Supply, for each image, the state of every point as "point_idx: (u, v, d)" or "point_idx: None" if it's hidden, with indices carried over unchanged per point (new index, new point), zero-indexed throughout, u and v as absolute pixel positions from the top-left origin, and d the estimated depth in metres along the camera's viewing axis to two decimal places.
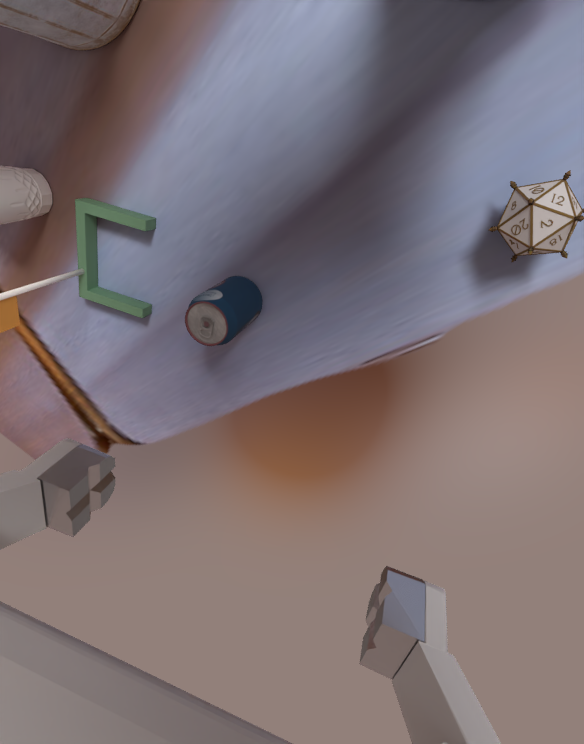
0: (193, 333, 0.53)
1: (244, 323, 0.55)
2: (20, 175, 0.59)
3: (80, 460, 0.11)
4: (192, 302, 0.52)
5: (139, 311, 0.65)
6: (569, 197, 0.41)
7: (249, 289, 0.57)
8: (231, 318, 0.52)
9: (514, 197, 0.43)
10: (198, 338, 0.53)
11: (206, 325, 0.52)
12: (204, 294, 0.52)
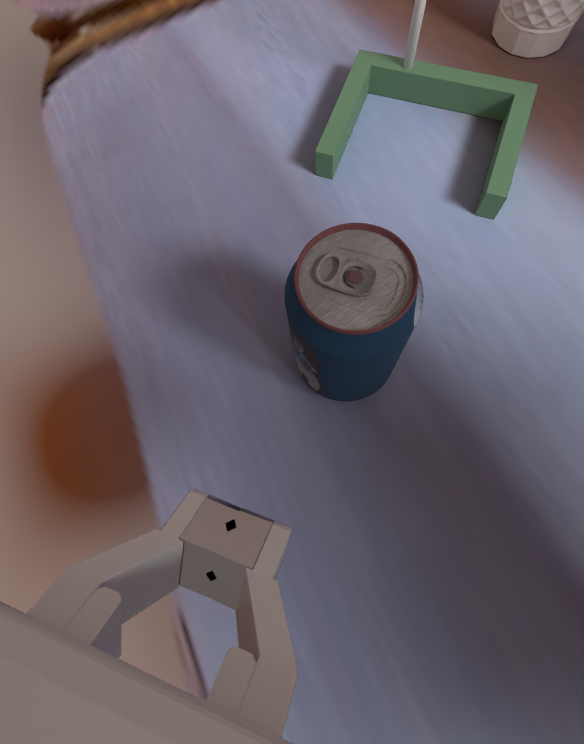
0: (328, 238, 0.20)
1: (324, 368, 0.23)
2: None
3: (215, 515, 0.11)
4: None
5: (328, 149, 0.33)
6: None
7: (379, 383, 0.26)
8: (363, 345, 0.19)
9: None
10: (313, 247, 0.20)
11: (349, 274, 0.20)
12: (421, 285, 0.21)
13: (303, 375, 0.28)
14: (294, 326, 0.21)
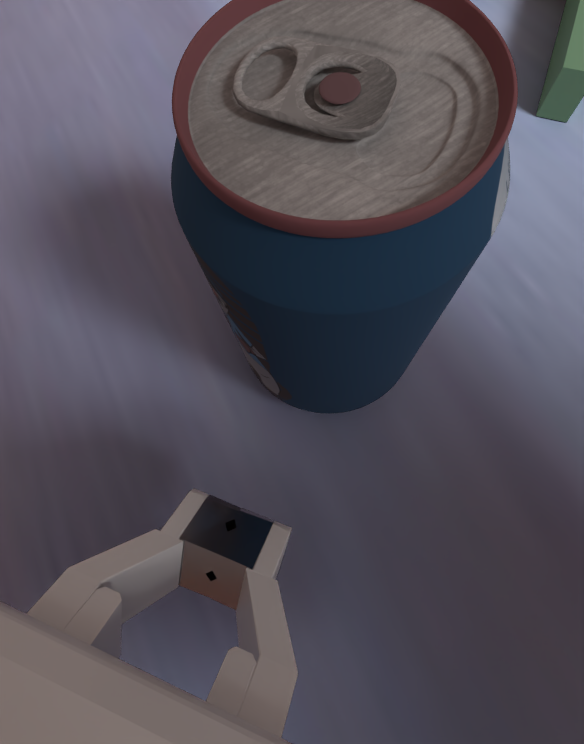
0: (270, 8, 0.08)
1: (274, 348, 0.10)
2: None
3: (215, 515, 0.11)
4: None
5: None
6: None
7: (389, 381, 0.14)
8: (362, 276, 0.07)
9: None
10: (231, 31, 0.08)
11: (324, 88, 0.07)
12: None
13: (252, 367, 0.15)
14: (188, 238, 0.08)
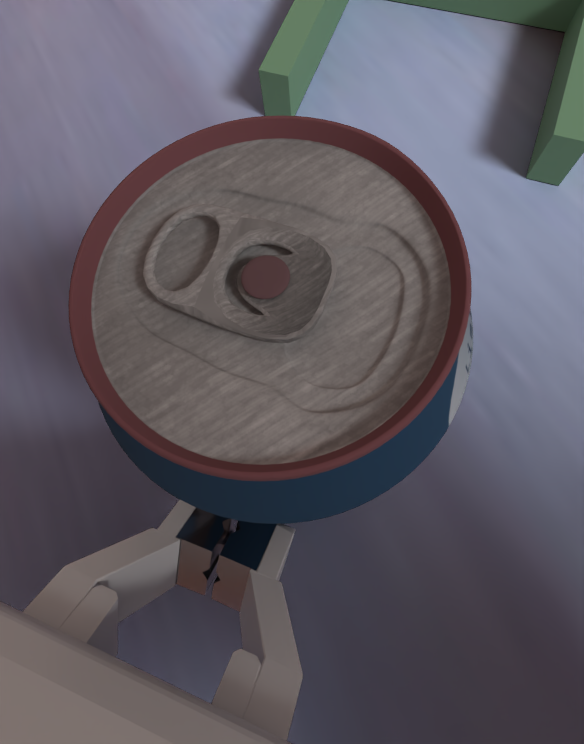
0: (194, 163, 0.07)
1: None
2: None
3: (212, 514, 0.11)
4: None
5: (281, 65, 0.20)
6: None
7: None
8: (291, 500, 0.06)
9: None
10: (149, 190, 0.07)
11: (251, 271, 0.06)
12: None
13: None
14: (105, 418, 0.07)
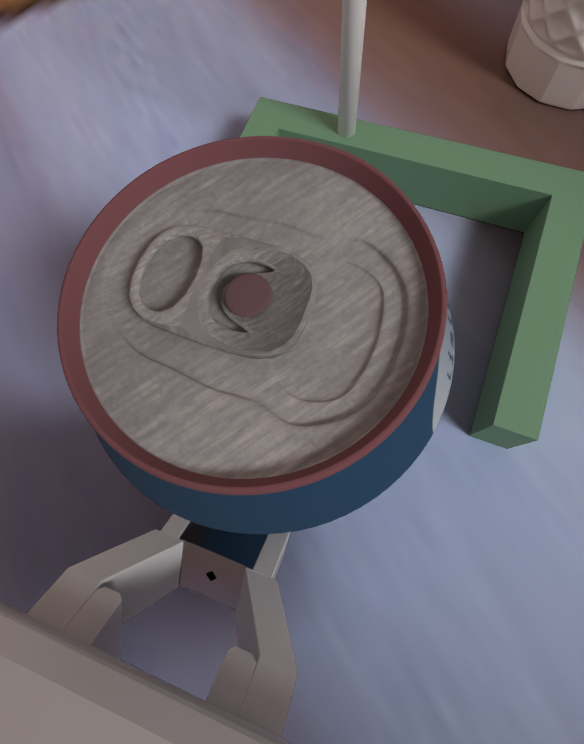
0: (177, 184, 0.07)
1: None
2: None
3: None
4: None
5: None
6: None
7: None
8: (280, 512, 0.06)
9: None
10: (134, 212, 0.07)
11: (234, 289, 0.06)
12: (448, 310, 0.07)
13: None
14: (98, 436, 0.07)
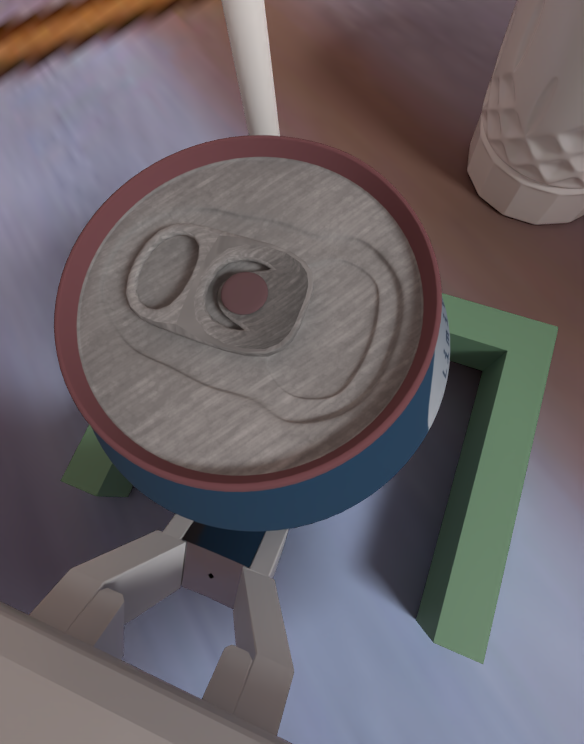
0: (173, 183, 0.07)
1: None
2: None
3: None
4: None
5: (90, 476, 0.15)
6: None
7: None
8: (276, 508, 0.06)
9: None
10: (131, 211, 0.07)
11: (230, 287, 0.06)
12: (444, 308, 0.08)
13: None
14: (95, 434, 0.07)
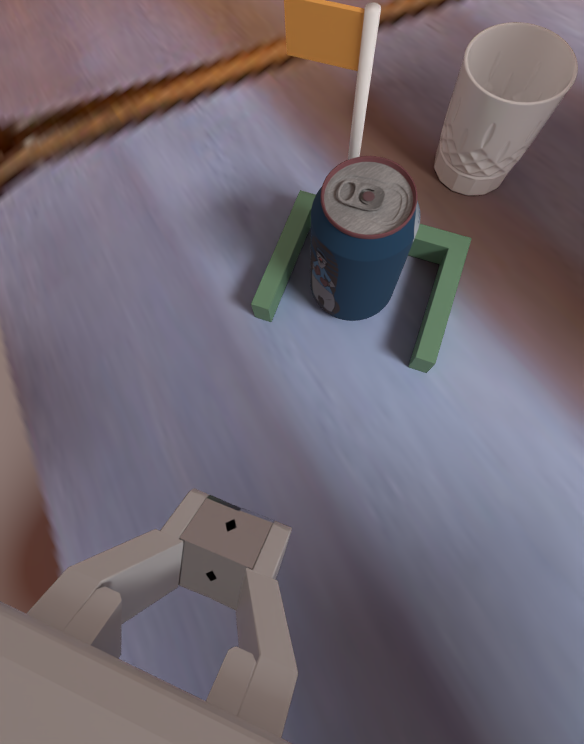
0: (345, 168, 0.26)
1: (342, 279, 0.28)
2: (518, 155, 0.34)
3: (215, 515, 0.11)
4: None
5: (264, 301, 0.34)
6: None
7: (383, 299, 0.32)
8: (376, 249, 0.25)
9: None
10: (333, 176, 0.26)
11: (363, 195, 0.25)
12: (418, 205, 0.26)
13: (319, 298, 0.33)
14: (320, 240, 0.26)
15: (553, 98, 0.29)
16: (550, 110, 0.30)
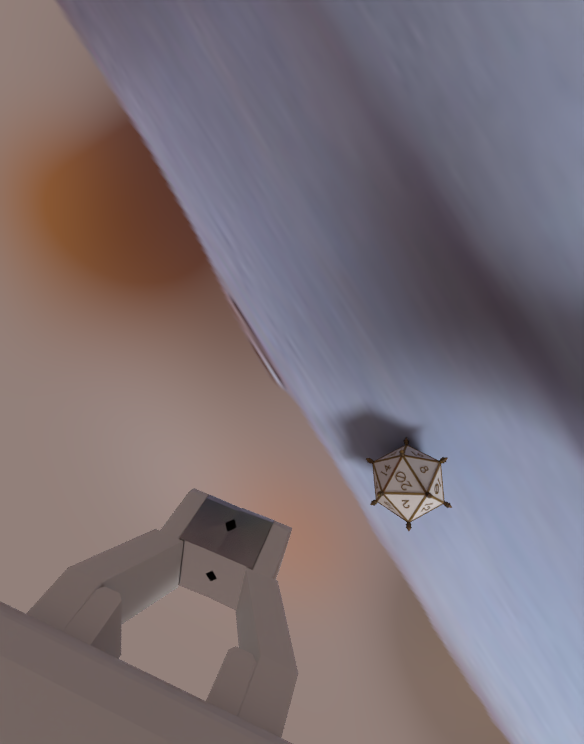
0: None
1: None
2: None
3: (215, 515, 0.11)
4: None
5: None
6: (427, 512, 0.43)
7: None
8: None
9: (432, 465, 0.43)
10: None
11: None
12: None
13: None
14: None
15: None
16: None
